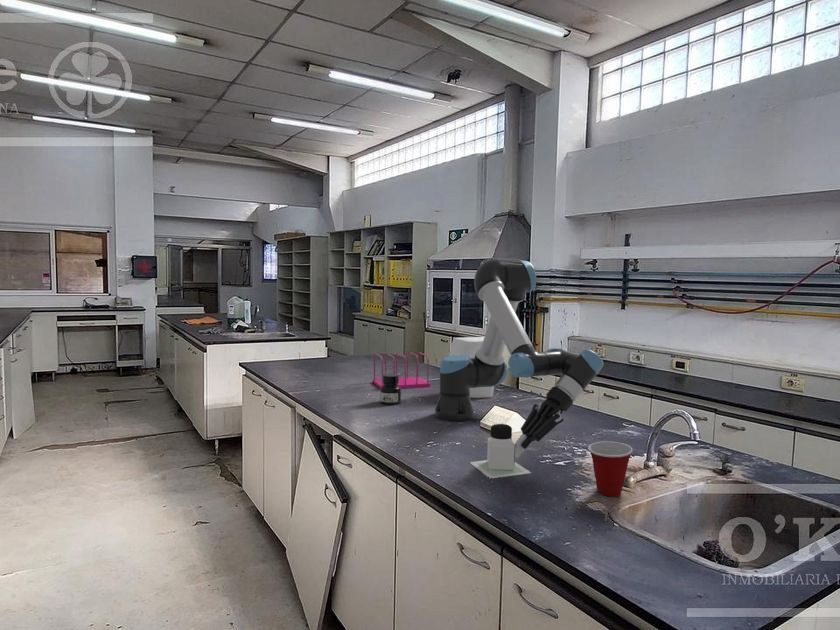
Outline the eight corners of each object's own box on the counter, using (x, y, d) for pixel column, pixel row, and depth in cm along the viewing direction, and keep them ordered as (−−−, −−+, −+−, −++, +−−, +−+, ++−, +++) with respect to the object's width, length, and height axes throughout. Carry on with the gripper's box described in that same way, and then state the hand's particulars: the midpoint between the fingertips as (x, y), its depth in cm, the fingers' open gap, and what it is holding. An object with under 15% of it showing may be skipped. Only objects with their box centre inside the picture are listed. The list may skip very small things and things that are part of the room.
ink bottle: (375, 403, 226) (375, 375, 225) (384, 399, 235) (385, 372, 234) (396, 406, 223) (396, 377, 222) (405, 401, 231) (405, 374, 230)
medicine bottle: (514, 470, 151) (515, 429, 150) (489, 470, 152) (490, 428, 151) (511, 461, 158) (512, 422, 157) (487, 461, 159) (487, 421, 158)
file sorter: (372, 382, 270) (372, 351, 269) (419, 380, 278) (419, 350, 277) (380, 390, 254) (381, 357, 252) (430, 386, 262) (430, 355, 260)
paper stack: (505, 397, 241) (506, 340, 239) (448, 400, 234) (449, 342, 232) (487, 387, 261) (488, 335, 259) (434, 390, 254) (435, 336, 252)
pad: (489, 478, 145) (490, 478, 145) (469, 462, 158) (469, 462, 158) (531, 473, 150) (531, 472, 150) (508, 457, 162) (508, 457, 162)
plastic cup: (579, 484, 142) (581, 440, 142) (618, 483, 143) (620, 439, 142) (596, 501, 132) (598, 454, 131) (638, 500, 133) (640, 453, 132)
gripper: (584, 407, 154) (533, 470, 150) (558, 397, 166) (509, 455, 162) (569, 390, 152) (516, 453, 148) (544, 381, 164) (494, 439, 160)
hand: (513, 454), depth 155 cm, fingers closed
